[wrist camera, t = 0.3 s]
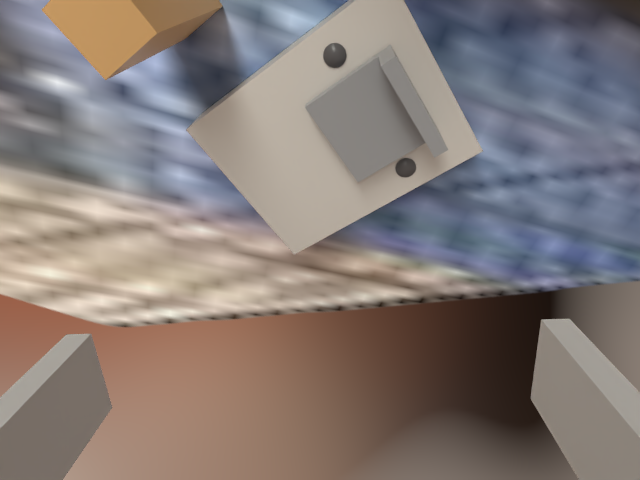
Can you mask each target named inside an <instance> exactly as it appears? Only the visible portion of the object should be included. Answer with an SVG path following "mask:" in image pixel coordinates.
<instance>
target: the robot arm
mask: <svg viewBox="0 0 640 480" xmlns="http://www.w3.org/2000/svg"><path fill="white" fill-rule="evenodd" d="M531 400H532V402H533V403H534V405H535V407H536V408H537V410H538V412H539V413H540V415H541V417H542V418H543V420H544V422H545V424H546V425H547V427H548V429H549V430H550V432H551V434H552V435H553V437H554V438H555V440H556V442H557V443H558V445H559V447H560V449H561V450H562V452H563V454H564V455H565V457H566V459H567V460H568V462H569V463H570V465H571V467H572V469H573V470H574V472H575V474H576V476H577V477H578V479H579V480H640V392H639V391H638V390H637V389H636V388H635V387H634V386H633V385H632V384H631V383H630V382H629V381H628V380H627V379H626V378H625V377H624V376H623V375H622V374H621V373H620V371H619V370H618V369H617V368H616V367H615V366H614V365H613V364H612V363H611V362H610V361H609V360H608V359H607V358H606V357H605V356H604V355H603V354H602V353H601V352H600V351H599V349H597V347H596V346H595V345H594V344H593V343H592V342H591V341H590V340H589V339H588V338H587V337H586V336H585V335H584V334H583V333H582V332H581V331H580V330H579V328H578V327H577V326H576V325H575V324H574V323H573V322H572V321H571V320H570V319H547V320H546V319H545V320H541V325H540V333H539V340H538V348H537V355H536V362H535V370H534V378H533V385H532V392H531ZM111 408H112V405H111V402H110V398H109V395H108V391H107V388H106V384H105V381H104V377H103V374H102V370H101V367H100V363H99V360H98V356H97V353H96V349H95V346H94V342H93V339H92V335H91V334H69V335H66V336H64V337H63V338H62V339H61V340H60V341H59V342H58V343H57V344H56V345H55V346H54V347H53V348H52V349H51V350H50V351H49V352H48V353H47V354H46V355H44V356H43V357H42V358H41V359H40V360H39V361H38V362H37V363H36V364H35V365H34V366H33V367H32V368H31V369H30V370H29V371H28V372H27V373H26V374H24V375H23V376H22V378H20V379H19V380H18V381H17V382H16V383H15V384H14V385H13V386H12V387H11V388H10V389H9V390H8V391H7V392H6V393H4V394H3V396H1V397H0V480H63V479H64V477H65V476H66V474H67V473H68V471H69V470H70V468H71V467H72V465H73V464H74V463H75V461H76V460H77V458H78V457H79V455H80V454H81V452H82V451H83V449H84V448H85V446H86V445H87V443H88V442H89V441H90V439H91V438H92V436H93V435H94V433H95V432H96V430H97V429H98V427H99V426H100V424H101V423H102V421H103V420H104V419H105V417H106V416H107V414H108V413H109V411H110V410H111Z"/></svg>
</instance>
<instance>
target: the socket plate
mask: <svg viewBox="0 0 640 480" xmlns="http://www.w3.org/2000/svg"><path fill="white" fill-rule="evenodd" d="M389 45H391V46H392V48H393V50H394V51H395V53H396V55H397V57H398V59H399V60H400V62H401V64H402V66H403V67H404V69H405V71H406V73H407V75H408V76H409V78H410V80H411V82H412V83H413V85H414V87H415V89H416V91H417V92H418V94H419V96H420V98H421V99H422V101H423V103H424V105H425V106H426V108H427V110H428V112H429V114H430V115H431V117H432V119H433V121H434V122H435V124H436V126H437V128H438V130H439V132H440V134H441V136H442V138H443V140H444V142H445V144H446V146H447V148H448V150H447V151H445V152H444V153H442V154H440V155H438V156H437V157H435V158H434V156H433V154H432V153H431V151H430V149H429V147H428V146H427V144H426V143H425V144H423V145H421V146H420V147H418V148H416V149H414V150H413V151H411V152H409V153H408V154H406V155H404V156H402V157H401V158H399V159H397V160H396V161H394V162H392V163H390V164H389V165H387V166H385V167H384V168H382V169H380V170H378V171H377V172H375V173H373V174H372V175H370V176H368V177H367V178H365V179H363V180H361V181H360V182H357V181H356V179H355V178H354V176H353V175H352V174H351V172H350V171H349V169H348V168H347V166H346V165H345V164H344V162H343V161H342V159H341V158H340V156H339V155H338V154H337V152H336V151H335V149H334V148H333V147H332V145H331V144H330V142H329V141H328V139H327V138H326V137H325V135H324V134H323V132H322V131H321V130H320V128H319V127H318V125H317V124H316V122H315V121H314V120H313V118H312V117H311V115H310V114H309V112H308V111H307V110H306V108H305V106H306V103H307V102H309V101H310V100H312V99H313V98H315V97H316V96H318V95H319V94H320V93H322V92H323V91H325V90H326V89H328V88H329V87H330V86H332V85H333V84H335V83H336V82H338V81H339V80H340V79H342V78H343V77H345V76H346V75H348V74H349V73H351V72H352V71H353V70H355V69H356V68H358V67H359V66H361V65H362V64H363V63H365V62H366V61H368V60H369V59H371V58H372V57H373V56H375V55H376V54H378V53H379V52H381V51H382V50H384V49H385V48H386V47H388V46H389ZM187 131H188V133H189V134H190V135H191V136H192V137H193V138H194V140H195V141H196V142H197V143H198V144H199V145H200V146H201V148H202V149H203V150H204V151H205V152H206V153H207V155H208V156H209V157H210V158H211V159H212V160H213V161H214V163H215V164H216V165H217V166H218V167H219V168H220V170H221V171H222V172H223V173H224V174H225V175H226V176H227V178H228V179H229V180H230V181H231V182H232V183H233V185H234V186H235V187H236V188H237V189H238V190H239V191H240V193H241V194H242V195H243V196H244V197H245V198H246V200H247V201H248V202H249V203H250V204H251V205H252V206H253V208H254V209H255V210H256V211H257V212H258V213H259V215H260V216H261V217H262V218H263V219H264V220H265V221H266V223H267V224H268V225H269V226H270V227H271V228H272V230H273V231H274V232H275V233H276V234H277V235H278V236H279V238H280V239H281V240H282V241H283V242H284V243H285V245H286V246H287V247H288V248H289V249H290V250H291V252H292V253H293V254H294V255H295V254H296V253H298V252H300V251H302V250H304V249H306V248H307V247H309V246H311V245H313V244H315V243H316V242H318V241H320V240H322V239H324V238H326V237H327V236H329V235H331V234H333V233H335V232H337V231H338V230H340V229H342V228H344V227H346V226H347V225H349V224H351V223H353V222H355V221H357V220H358V219H360V218H362V217H364V216H366V215H367V214H369V213H371V212H373V211H375V210H377V209H378V208H380V207H382V206H384V205H386V204H388V203H389V202H391V201H393V200H395V199H397V198H398V197H400V196H402V195H404V194H406V193H408V192H409V191H411V190H413V189H415V188H417V187H418V186H420V185H422V184H424V183H426V182H428V181H429V180H431V179H433V178H435V177H437V176H439V175H440V174H442V173H444V172H446V171H448V170H449V169H451V168H453V167H455V166H457V165H459V164H460V163H462V162H464V161H466V160H468V159H469V158H471V157H473V156H475V155H477V154H479V153H480V152H482V151H483V150H482V149H481V147H480V145H479V143H478V141H477V139H476V137H475V135H474V133H473V131H472V129H471V128H470V126H469V124H468V122H467V120H466V118H465V116H464V114H463V112H462V110H461V108H460V107H459V105H458V103H457V101H456V99H455V97H454V95H453V93H452V91H451V89H450V87H449V86H448V84H447V82H446V80H445V78H444V76H443V74H442V72H441V70H440V68H439V66H438V65H437V63H436V61H435V59H434V57H433V55H432V53H431V51H430V49H429V47H428V45H427V44H426V42H425V40H424V38H423V36H422V34H421V32H420V30H419V28H418V26H417V24H416V23H415V21H414V19H413V17H412V15H411V13H410V11H409V9H408V7H407V5H406V3H405V2H404V0H349V1H347V2H346V3H345V4H343V5H342V6H341V7H340V8H338V9H337V10H336V11H334V12H333V13H332V14H330V15H329V16H328V17H327V18H325V19H324V20H323V21H321V22H320V23H319V24H317V25H316V26H315V27H314V28H312V29H311V30H310V31H308V32H307V33H306V34H304V35H303V36H302V37H301V38H299V39H298V40H297V41H295V42H294V43H293V44H291V45H290V46H289V47H288V48H286V49H285V50H284V51H282V52H281V53H280V54H278V55H277V56H276V57H275V58H273V59H272V60H271V61H269V62H268V63H267V64H265V65H264V66H263V67H262V68H260V69H259V70H258V71H256V72H255V73H254V74H252V75H251V76H250V77H249V78H247V79H246V80H245V81H243V82H242V83H241V84H239V85H238V86H237V87H236V88H234V89H233V90H232V91H230V92H229V93H228V94H226V95H225V96H224V97H223V98H221V99H220V100H219V101H217V102H216V103H215V104H213V105H212V106H211V107H210V108H208V109H207V110H206V111H204V112H203V113H202V114H201V115H200V116H199V117H198V118H197V119H196V120H195V121H194V122H193V123H192V124H191V125H190V126H189V127H188V128H187Z"/></svg>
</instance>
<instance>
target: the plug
mask: <svg viewBox="0 0 640 480" xmlns="http://www.w3.org/2000/svg"><path fill="white" fill-rule="evenodd" d="M221 7H222V4H221V3H220V2H219V0H50V1H49V2H48V3H47V5H46V6H45V7H44V8H43V9H42V11H43V12H44V13H45V14H46V15H47V16H48V17H49V18H50V20H51V21H52V22H53V23H54V24H55V25H56V26H57V27H58V28H59V29H60V31H61V32H62V33H63V34H64V35H65V36H66V37H67V38H68V39H69V40H70V42H71V43H72V44H73V45H74V46H75V47H76V48H77V49H78V50H79V51H80V53H81V54H82V55H83V56H84V57H85V58H86V59H87V60H88V61H89V62H90V64H91V65H92V66H93V67H94V68H95V69H96V70H97V71H98V72H99V73H100V75H101V76H102V77H103V78H104V79H105V80H107V79H109V78H111V77H113V76H114V75H116V74H118V73H120V72H122V71H124V70H126V69H128V68H130V67H132V66H134V65H136V64H138V63H140V62H142V61H144V60H146V59H147V58H149V57H151V56H153V55H155V54H157V53H159V52H161V51H163V50H165V49H167V48H169V47H171V46H173V45H175V44H177V43H179V42H181V41H182V40H184V39H186V38H187V37H188V36H189V35H190V34H191V33H193V32H194V31H195V30H196V29H197V28H198V27H200V26H201V25H202V24H203V23H204V22H205V21H206V20H208V19H209V18H210V17H211V16H212V15H213V14H214V13H216V12H217V11H218V10H219V9H220V8H221Z"/></svg>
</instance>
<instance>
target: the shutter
mask: <svg viewBox="0 0 640 480" xmlns="http://www.w3.org/2000/svg"><path fill="white" fill-rule="evenodd" d="M305 108H306V110H307V111H308V112H309V114H310V115H311V117H312V118H313V120H314V121H315V122H316V124H317V125H318V127H319V128H320V130H321V131H322V132H323V134H324V135H325V137H326V138H327V139H328V141H329V142H330V144H331V145H332V147H333V148H334V149H335V151H336V152H337V154H338V155H339V156H340V158H341V159H342V161H343V162H344V164H345V165H346V166H347V168H348V169H349V171H350V172H351V174H352V175H353V176H354V178H355V179H356V181H357V182H360V181H361V180H363V179H365V178H367V177H368V176H370V175H372V174H373V173H375V172H377V171H378V170H380V169H382V168H384V167H385V166H387V165H389V164H390V163H392V162H394V161H396V160H397V159H399V158H401V157H402V156H404V155H406V154H408V153H409V152H411V151H413V150H414V149H416V148H418V147H420V146H421V145H423V144H425V143H426V144H427V146H428V147H429V149H430V151H431V153H432V154H433V156H434V158H435V157H437V156H438V155H440V154H442V153H444V152H445V151H447V150H448V148H447V146H446V144H445V142H444V140H443V138H442V136H441V134H440V132H439V130H438V128H437V126H436V124H435V122H434V121H433V119H432V117H431V115H430V114H429V112H428V110H427V108H426V106H425V105H424V103H423V101H422V99H421V98H420V96H419V94H418V92H417V91H416V89H415V87H414V85H413V83H412V82H411V80H410V78H409V76H408V75H407V73H406V71H405V69H404V67H403V66H402V64H401V62H400V60H399V59H398V57H397V55H396V53H395V51H394V50H393V48H392V46H391V45H389V46H388V47H386V48H385V49H384V50H382V51H381V52H379V53H378V54H376V55H375V56H373V57H372V58H371V59H369V60H368V61H366V62H365V63H363V64H362V65H361V66H359V67H358V68H356V69H355V70H353V71H352V72H351V73H349V74H348V75H346V76H345V77H343V78H342V79H340V80H339V81H338V82H336V83H335V84H333V85H332V86H330V87H329V88H328V89H326V90H325V91H323V92H322V93H320V94H319V95H318V96H316V97H315V98H313V99H312V100H310V101H309V102H307V103H306V106H305Z"/></svg>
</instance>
